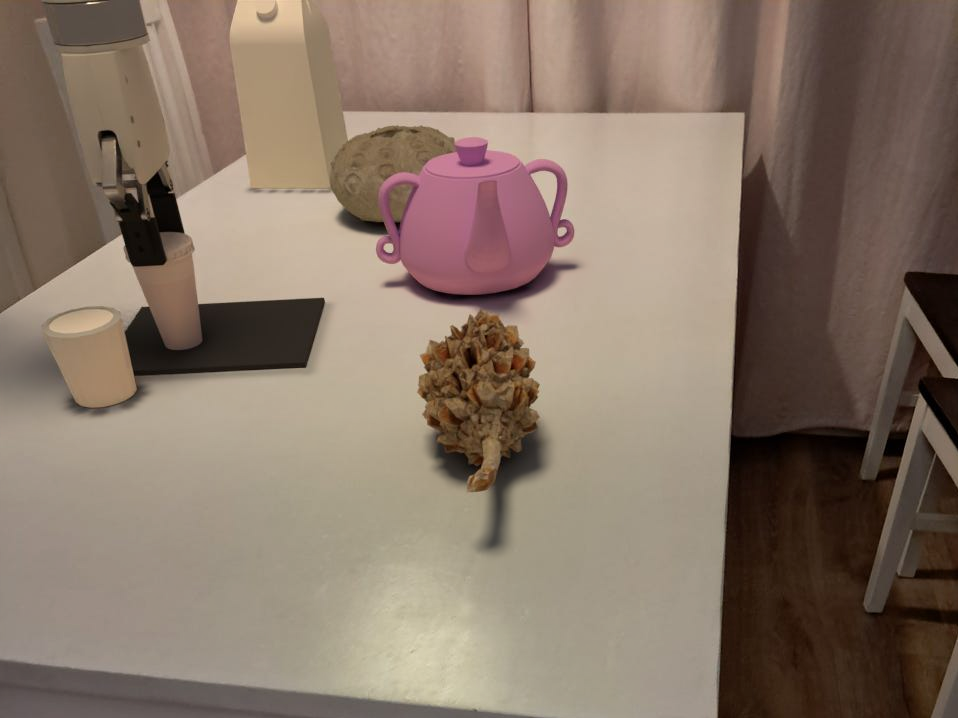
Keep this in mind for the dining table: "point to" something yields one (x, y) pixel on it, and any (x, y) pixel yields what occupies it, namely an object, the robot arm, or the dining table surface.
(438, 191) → the teapot
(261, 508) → the dining table surface
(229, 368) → the mat
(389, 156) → the decorative shell
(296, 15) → the milk
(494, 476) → the pine cone
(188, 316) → the smoothie
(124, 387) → the cream candle
